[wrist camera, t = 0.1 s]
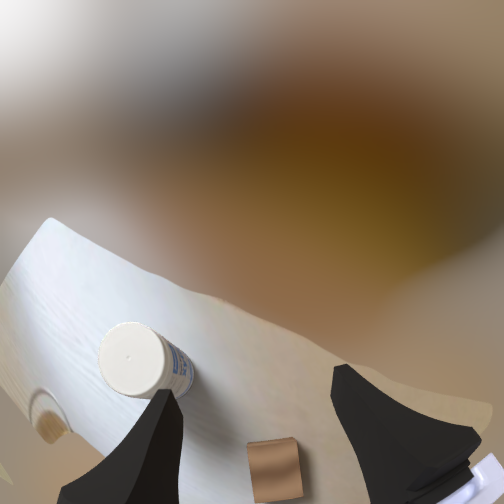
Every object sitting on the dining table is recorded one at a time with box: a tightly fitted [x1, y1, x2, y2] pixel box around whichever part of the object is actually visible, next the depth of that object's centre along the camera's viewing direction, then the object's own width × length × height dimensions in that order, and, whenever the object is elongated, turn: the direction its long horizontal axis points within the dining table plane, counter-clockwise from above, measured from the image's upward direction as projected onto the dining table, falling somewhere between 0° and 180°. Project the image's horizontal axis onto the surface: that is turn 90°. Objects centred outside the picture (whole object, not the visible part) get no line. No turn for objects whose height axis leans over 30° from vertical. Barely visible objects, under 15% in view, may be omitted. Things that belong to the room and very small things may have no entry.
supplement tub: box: [98, 322, 194, 399], centre depth 34 cm, size 10×10×15 cm
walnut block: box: [247, 437, 304, 503], centre depth 30 cm, size 10×7×4 cm
